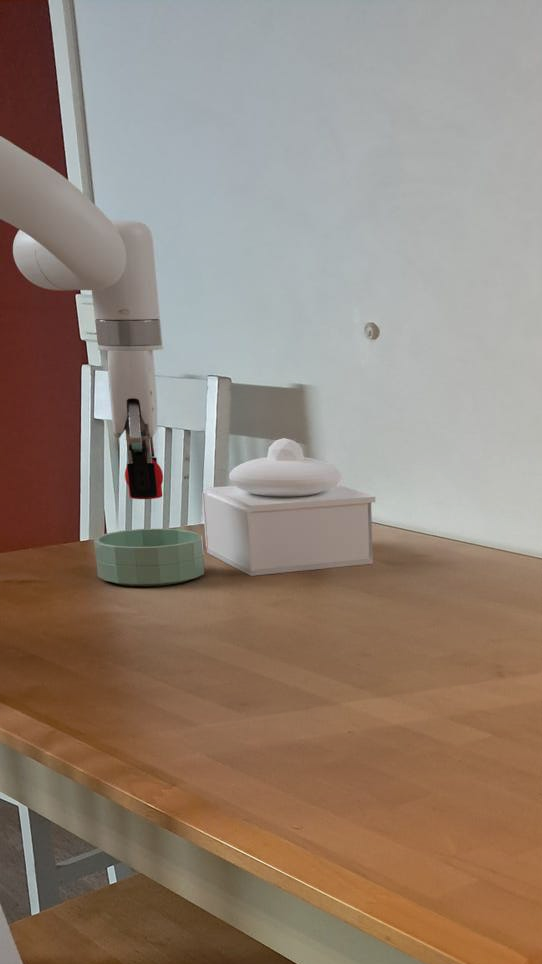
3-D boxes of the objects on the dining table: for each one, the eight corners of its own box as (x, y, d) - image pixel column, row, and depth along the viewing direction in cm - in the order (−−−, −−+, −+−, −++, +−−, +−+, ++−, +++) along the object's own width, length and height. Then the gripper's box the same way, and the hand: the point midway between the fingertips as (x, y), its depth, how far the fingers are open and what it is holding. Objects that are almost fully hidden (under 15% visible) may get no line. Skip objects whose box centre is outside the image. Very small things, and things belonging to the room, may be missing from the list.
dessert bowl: (94, 589, 156) (89, 548, 154) (103, 568, 168) (99, 529, 166) (204, 586, 158) (200, 546, 156) (205, 565, 170) (202, 527, 168)
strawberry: (125, 500, 157) (121, 458, 155) (128, 494, 161) (124, 453, 159) (164, 499, 158) (160, 457, 156) (165, 493, 162) (161, 452, 160)
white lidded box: (206, 552, 178) (197, 433, 172) (325, 542, 186) (320, 428, 180) (250, 576, 164) (242, 447, 158) (376, 563, 172) (374, 441, 166)
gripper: (103, 333, 159) (119, 484, 166) (90, 339, 143) (108, 505, 151) (164, 333, 160) (178, 483, 167) (158, 339, 145) (173, 503, 152)
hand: (145, 492), depth 159 cm, fingers closed on strawberry, 4 cm apart
